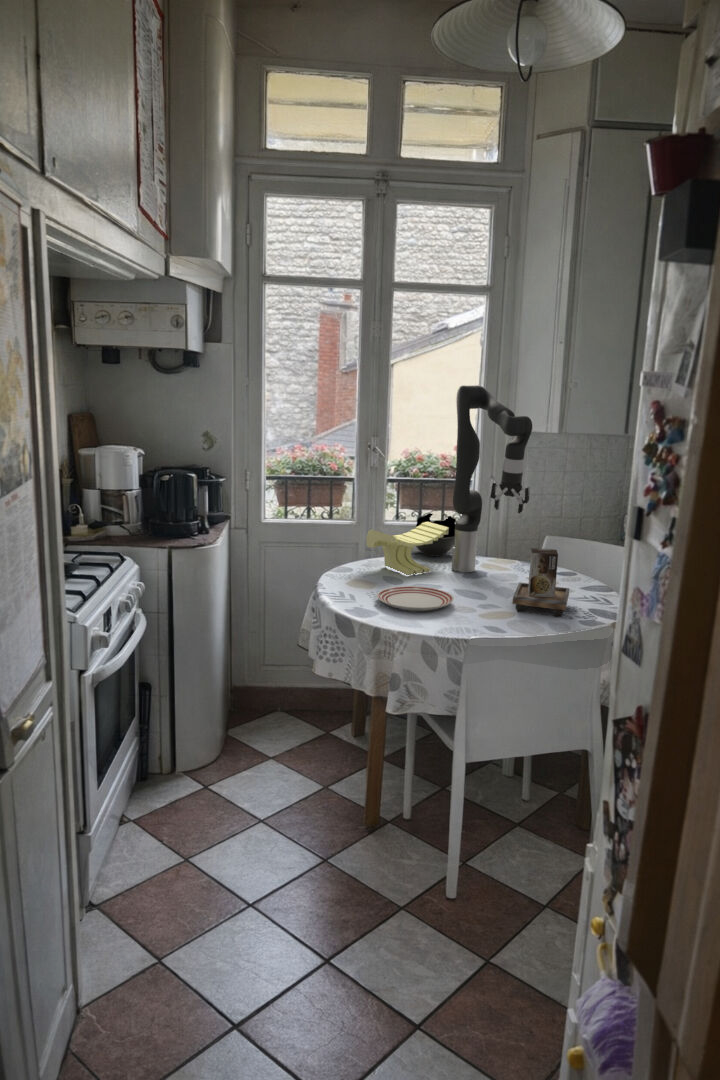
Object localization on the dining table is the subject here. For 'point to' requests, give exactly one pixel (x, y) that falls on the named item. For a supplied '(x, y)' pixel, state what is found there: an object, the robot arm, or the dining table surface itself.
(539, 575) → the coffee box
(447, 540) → the coal bowl
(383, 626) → the dining table surface
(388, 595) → the dinner plate
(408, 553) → the slatted curved stool
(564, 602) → the caster dolly
